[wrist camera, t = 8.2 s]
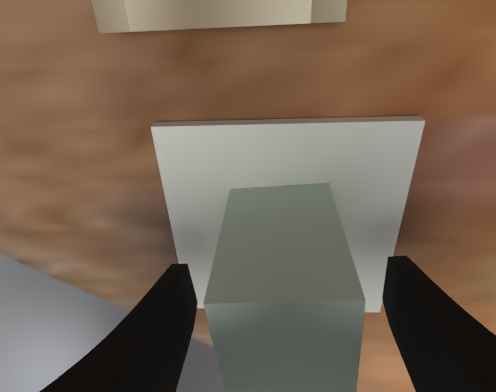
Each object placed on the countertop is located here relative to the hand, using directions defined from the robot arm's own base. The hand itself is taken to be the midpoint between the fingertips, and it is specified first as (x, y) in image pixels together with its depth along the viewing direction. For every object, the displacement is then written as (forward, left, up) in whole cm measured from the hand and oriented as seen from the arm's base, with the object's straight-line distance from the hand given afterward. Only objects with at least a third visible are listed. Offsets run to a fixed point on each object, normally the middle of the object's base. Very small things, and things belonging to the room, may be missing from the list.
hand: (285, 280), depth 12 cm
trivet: (0, 0, -4) cm, 4 cm away
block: (0, 0, -3) cm, 3 cm away
